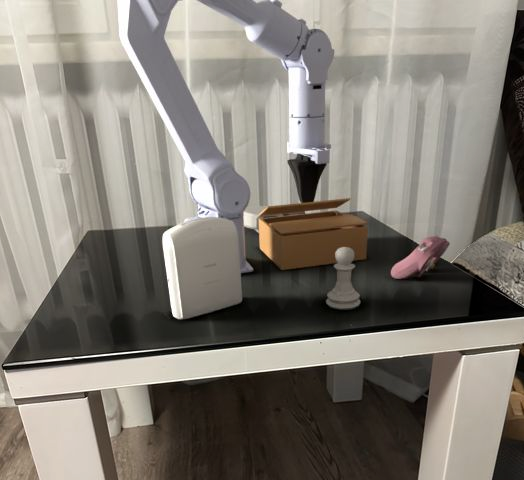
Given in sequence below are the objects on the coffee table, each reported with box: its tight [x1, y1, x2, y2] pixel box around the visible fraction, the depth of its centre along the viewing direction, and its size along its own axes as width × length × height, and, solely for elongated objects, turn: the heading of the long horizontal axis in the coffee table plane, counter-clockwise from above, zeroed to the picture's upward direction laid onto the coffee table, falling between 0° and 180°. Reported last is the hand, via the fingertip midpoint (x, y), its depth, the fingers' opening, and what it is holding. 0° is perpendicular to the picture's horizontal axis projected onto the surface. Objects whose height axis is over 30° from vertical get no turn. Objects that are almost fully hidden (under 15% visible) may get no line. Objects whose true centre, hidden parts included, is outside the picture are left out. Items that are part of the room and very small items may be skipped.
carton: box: [258, 209, 369, 271], centre depth 93 cm, size 15×13×6 cm
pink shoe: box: [390, 234, 451, 280], centre depth 83 cm, size 10×5×7 cm, turn 143°
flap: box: [259, 197, 351, 216], centre depth 95 cm, size 15×6×1 cm, turn 106°
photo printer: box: [162, 217, 243, 320], centre depth 71 cm, size 10×4×12 cm, turn 123°
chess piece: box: [325, 247, 361, 311], centre depth 72 cm, size 5×5×8 cm
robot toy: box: [244, 204, 307, 234], centre depth 110 cm, size 12×4×15 cm
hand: (306, 202), depth 93 cm, fingers closed
